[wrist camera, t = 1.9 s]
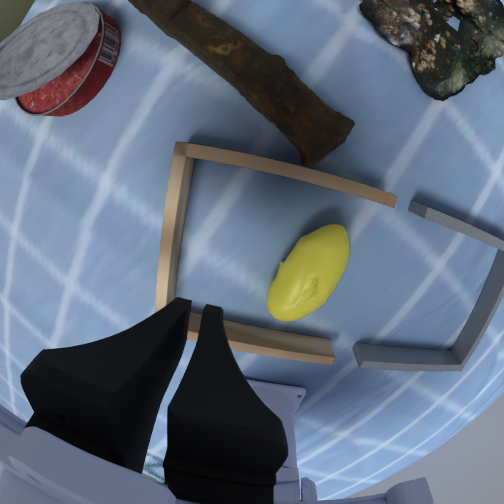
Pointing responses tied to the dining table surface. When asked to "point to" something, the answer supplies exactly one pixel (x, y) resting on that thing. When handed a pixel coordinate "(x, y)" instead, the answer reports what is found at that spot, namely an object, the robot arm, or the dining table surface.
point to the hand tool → (253, 76)
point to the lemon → (309, 273)
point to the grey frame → (497, 285)
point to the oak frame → (171, 237)
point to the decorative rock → (442, 38)
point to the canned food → (59, 59)
